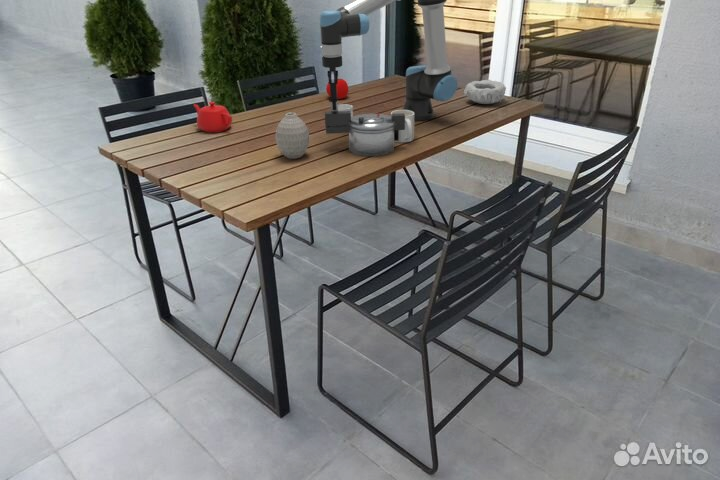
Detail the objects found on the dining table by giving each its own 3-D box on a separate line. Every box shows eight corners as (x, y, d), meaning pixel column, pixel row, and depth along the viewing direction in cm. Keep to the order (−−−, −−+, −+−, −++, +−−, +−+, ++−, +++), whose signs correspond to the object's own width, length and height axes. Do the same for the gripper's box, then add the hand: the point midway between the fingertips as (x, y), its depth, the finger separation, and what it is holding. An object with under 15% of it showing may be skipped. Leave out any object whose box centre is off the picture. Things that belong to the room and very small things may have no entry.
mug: (417, 136, 231) (418, 110, 226) (410, 145, 221) (411, 118, 216) (394, 134, 234) (394, 108, 229) (386, 143, 224) (386, 116, 219)
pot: (399, 139, 228) (400, 116, 223) (407, 154, 212) (408, 129, 207) (325, 143, 225) (324, 119, 221) (328, 158, 209) (326, 133, 204)
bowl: (511, 101, 279) (513, 81, 274) (497, 110, 264) (499, 89, 259) (472, 96, 289) (474, 77, 284) (457, 105, 274) (458, 85, 269)
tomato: (348, 101, 285) (347, 80, 280) (326, 101, 286) (325, 81, 281) (349, 95, 296) (348, 75, 291) (327, 95, 296) (326, 76, 291)
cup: (342, 133, 237) (341, 110, 232) (326, 127, 245) (324, 104, 240) (357, 129, 241) (356, 106, 237) (340, 123, 250) (339, 101, 245)
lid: (402, 115, 222) (402, 104, 220) (406, 129, 206) (407, 117, 204) (326, 117, 222) (325, 106, 220) (324, 131, 205) (324, 119, 203)
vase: (297, 164, 205) (293, 120, 197) (270, 158, 211) (266, 115, 203) (317, 153, 214) (314, 111, 206) (291, 148, 221) (287, 107, 213)
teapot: (246, 129, 245) (243, 102, 240) (219, 138, 234) (215, 110, 229) (210, 120, 259) (206, 94, 253) (183, 128, 248) (178, 101, 242)
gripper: (322, 52, 210) (325, 113, 221) (321, 59, 199) (324, 122, 210) (342, 52, 210) (344, 112, 222) (341, 58, 199) (344, 121, 210)
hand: (334, 117), depth 216 cm, fingers closed
